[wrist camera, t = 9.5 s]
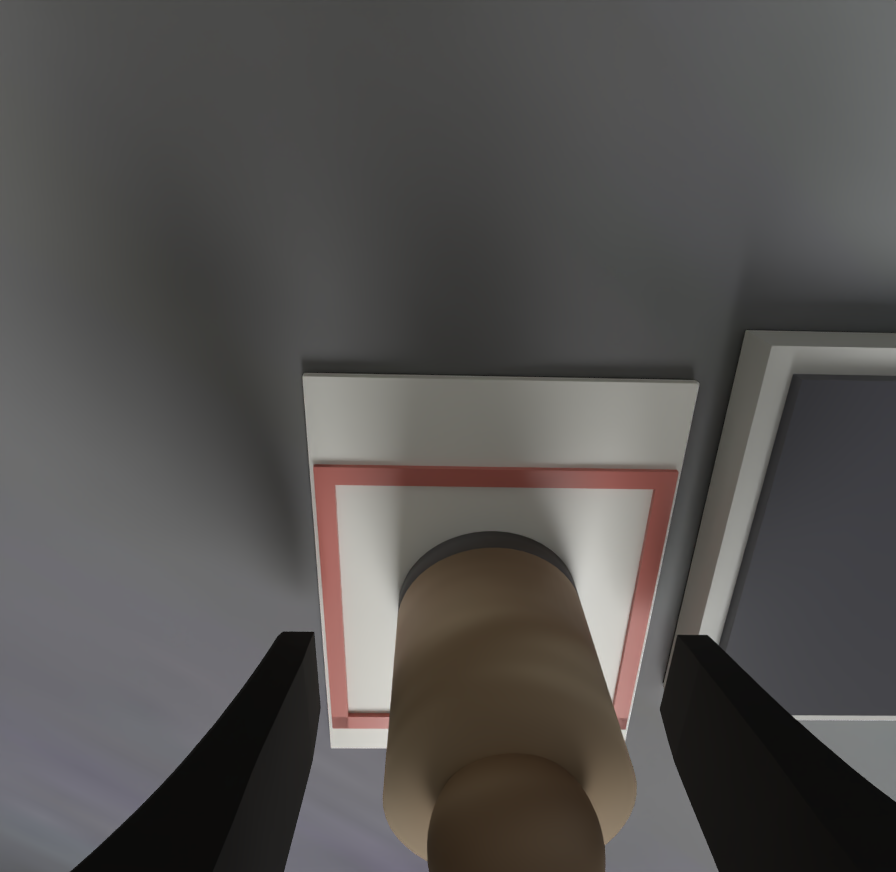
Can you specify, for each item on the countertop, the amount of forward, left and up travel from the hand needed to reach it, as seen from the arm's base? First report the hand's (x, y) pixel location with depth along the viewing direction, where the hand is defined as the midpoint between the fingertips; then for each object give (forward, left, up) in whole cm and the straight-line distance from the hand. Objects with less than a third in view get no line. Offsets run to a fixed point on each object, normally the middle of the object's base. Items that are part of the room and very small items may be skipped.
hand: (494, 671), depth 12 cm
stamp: (0, 0, -2) cm, 2 cm away
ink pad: (-8, -2, -2) cm, 8 cm away
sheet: (0, 0, -2) cm, 2 cm away
